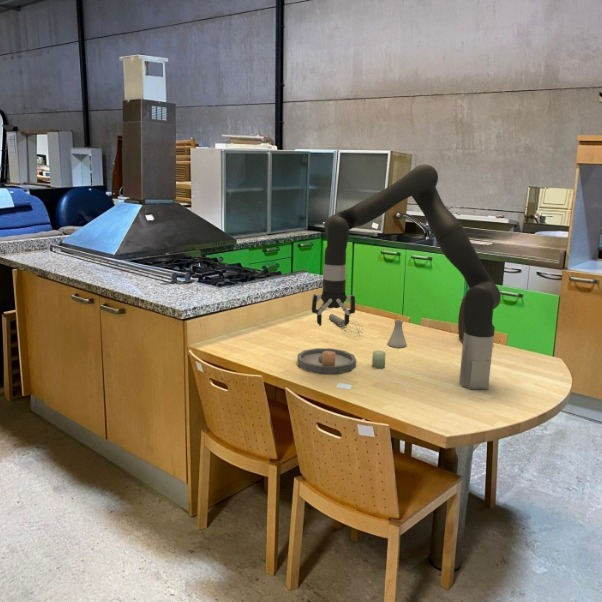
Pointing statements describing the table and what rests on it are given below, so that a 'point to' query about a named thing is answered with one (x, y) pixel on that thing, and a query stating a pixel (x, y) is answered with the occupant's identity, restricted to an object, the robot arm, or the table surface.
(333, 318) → the kitchen whisk
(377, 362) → the pale green rounded cylinder
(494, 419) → the table surface
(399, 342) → the flask
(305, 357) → the ring tray
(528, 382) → the table surface
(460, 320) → the small grey backpack
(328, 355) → the terracotta bead
